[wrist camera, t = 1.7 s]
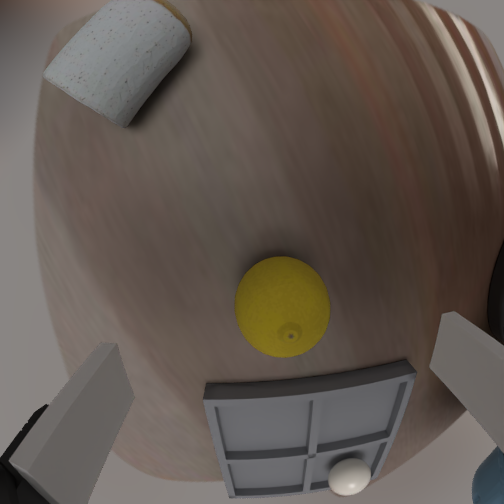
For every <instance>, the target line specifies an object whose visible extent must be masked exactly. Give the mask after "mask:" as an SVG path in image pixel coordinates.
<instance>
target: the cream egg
mask: <svg viewBox="0 0 504 504" xmlns="http://www.w3.org/2000/svg"><path fill="white" fill-rule="evenodd" d="M370 478H371V470H370V467H369V466H368V464H367V463H366V462H365V461H363V460H361V459H358V458H348V459H344V460H342V461H340V462H338V463H337V464H335V465H334V466H333V468H332V469H331V470H330V472H329V475H328V484H329V486H330V488H331V489H332V490H333V491H334V492H335V493H337V494H340V495H353V494H356V493H358V492H360V491H362V490H363V489H364V488H365V487H366V486H367V485H368V483H369V481H370Z"/></svg>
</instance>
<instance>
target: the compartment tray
mask: <svg viewBox="0 0 504 504" xmlns="http://www.w3.org/2000/svg"><path fill="white" fill-rule="evenodd" d="M416 374H417V371H416V370H415V369H414V368H413V367H412V365H411V364H410V363H409V362H408V361H407V360H403V361H399V362H395V363H390V364H386V365H381V366H376V367H372V368H366V369H361V370H356V371H350V372H344V373H338V374H331V375H324V376H317V377H308V378H300V379H290V380H279V381H266V382H249V383H216V384H206V387H205V392H204V397H203V402H204V407H205V411H206V415H207V420H208V424H209V428H210V432H211V436H212V440H213V443H214V447H215V451H216V455H217V458H218V462H219V465H220V469H221V472H222V476H223V479H224V482H225V486H226V489H227V492H228V495H229V498H265V497H278V496H290V495H299V494H306V493H313V492H319V491H325V490H331V488H330V486H329V484H328V475H329V472H330V470H331V469H332V468H333V466H334V465H335V464H337V463H338V462H340V461H342V460H344V459H348V458H358V459H361V460H363V461H365V462H366V463H367V464H368V466H369V467H370V470H371V478H370V480H373V479H376V478H377V476H378V474H379V472H380V470H381V468H382V466H383V464H384V462H385V460H386V457H387V455H388V453H389V451H390V448H391V446H392V444H393V441H394V439H395V436H396V434H397V431H398V429H399V426H400V423H401V421H402V418H403V415H404V412H405V410H406V407H407V404H408V401H409V398H410V394H411V391H412V388H413V385H414V381H415V378H416Z"/></svg>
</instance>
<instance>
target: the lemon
mask: <svg viewBox="0 0 504 504" xmlns="http://www.w3.org/2000/svg"><path fill="white" fill-rule="evenodd" d="M235 315H236V319H237V323H238V326H239V328H240V330H241V332H242V333H243V335H244V337H245V339H246V340H247V341H248V342H249V343H250V344H251V345H252V346H253V347H254V348H255V349H257V350H259V351H260V352H262V353H264V354H267V355H270V356H273V357H283V358H286V357H293V356H297V355H300V354H302V353H305V352H306V351H308V350H309V349H311V348H312V347H313V346H314V345H315V344H316V343H317V342H318V341H319V340H320V339H321V338H322V336H323V335H324V333H325V331H326V329H327V326H328V323H329V319H330V300H329V295H328V291H327V288H326V286H325V284H324V282H323V281H322V279H321V277H320V276H319V274H318V273H317V272H316V271H315V270H313V269H312V268H311V267H310V266H309V265H308V264H306V263H304V262H302V261H300V260H298V259H295V258H291V257H287V256H281V257H272V258H268V259H264V260H262V261H261V262H259V263H257V264H255V265H254V266H253V267H252V268H251V269H249V270H248V271H247V272H246V273H245V275H244V277H243V278H242V280H241V281H240V283H239V285H238V288H237V291H236V295H235Z"/></svg>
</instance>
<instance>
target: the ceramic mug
mask: <svg viewBox="0 0 504 504" xmlns="http://www.w3.org/2000/svg"><path fill="white" fill-rule="evenodd" d="M191 42H192V32H191V28H190V25H189V24H188V22H187V20H186V19H185V17H184V16H183V15H182V14H181V12H180V11H179V10H178V9H177V8H176V7H174V6H173V5H172V4H171V3H169V2H168V1H167V0H111V1H110V2H109V3H107V4H106V5H105V6H104V7H102V8H101V9H100V10H99V11H98V12H97V13H96V14H95V15H94V16H93V17H92V18H91V19H90V20H89V21H88V22H87V23H86V24H85V25H84V26H83V27H82V28H81V29H80V30H79V32H78V33H77V34H76V35H75V36H74V37H73V38H72V39H71V40H70V41H69V42H68V43H67V44H66V46H65V47H64V48H63V49H62V50H61V51H60V52H59V54H58V55H57V56H56V57H55V58H54V60H53V61H52V62H51V63H50V65H49V66H48V67H47V68H46V70H45V71H44V73H43V77H44V78H45V79H46V80H47V81H49V82H51V83H52V84H54V85H56V87H58V88H60V89H62V90H63V91H65V92H66V93H67V94H69V95H70V96H72V97H73V98H75V99H76V100H78V101H79V102H81V103H82V104H84V105H86V106H88V107H90V108H91V109H93V110H94V111H95V112H97V113H99V114H100V115H102V116H104V117H106V118H107V119H109V120H110V121H112V122H114V123H115V124H117V125H119V126H120V127H122V128H125V127H127V126H128V124H129V123H130V122H131V120H132V119H133V117H134V116H135V115H136V113H137V112H138V110H139V109H140V108H141V106H142V105H143V104H144V102H145V101H146V100H147V98H148V97H149V96H150V95H151V93H152V92H153V91H154V90H155V88H156V87H157V86H158V84H159V83H160V82H161V81H162V79H163V78H164V77H165V76H166V75H167V74H168V73H169V71H170V70H171V69H172V68H173V67H174V66H175V65H176V64H177V63H178V62H179V60H180V59H181V58H182V56H183V55H184V54H185V52H186V51H187V49H188V48H189V46H190V44H191Z"/></svg>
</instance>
